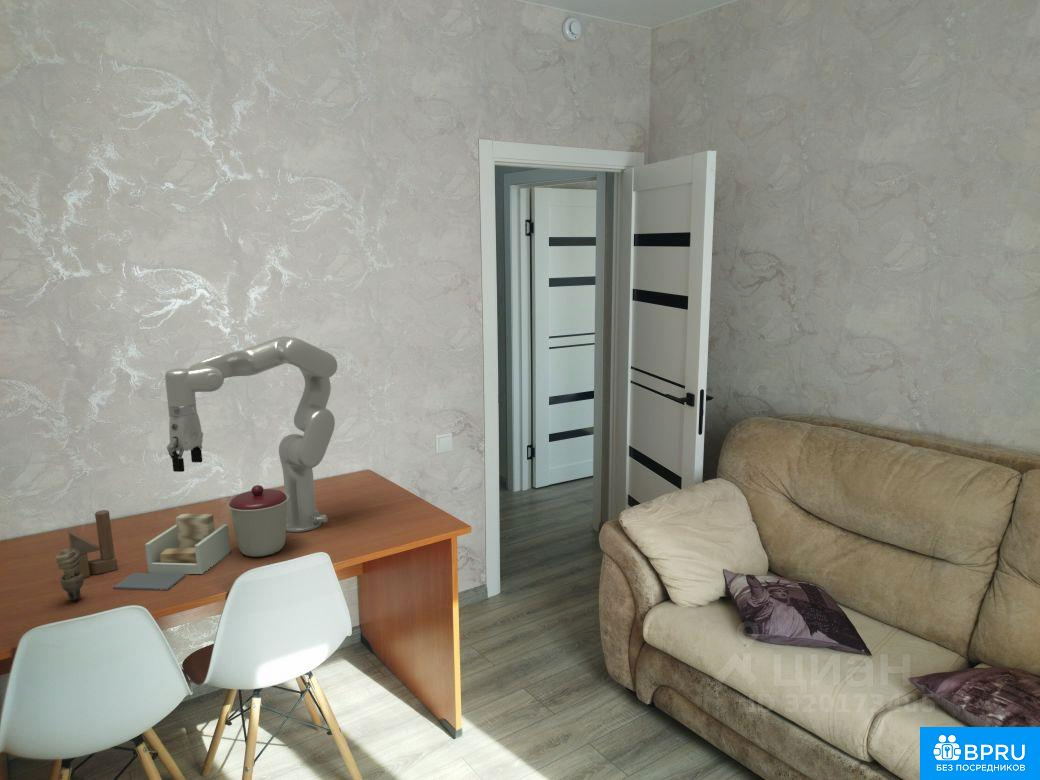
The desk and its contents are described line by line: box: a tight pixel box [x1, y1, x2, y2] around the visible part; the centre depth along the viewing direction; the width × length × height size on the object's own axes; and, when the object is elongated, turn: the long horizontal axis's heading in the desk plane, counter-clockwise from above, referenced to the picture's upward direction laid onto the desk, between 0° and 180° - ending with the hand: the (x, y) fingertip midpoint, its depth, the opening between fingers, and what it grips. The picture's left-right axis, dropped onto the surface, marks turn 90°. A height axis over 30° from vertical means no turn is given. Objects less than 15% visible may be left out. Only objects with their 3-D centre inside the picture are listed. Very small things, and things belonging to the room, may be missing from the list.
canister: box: [226, 484, 289, 558], centre depth 225 cm, size 18×18×21 cm
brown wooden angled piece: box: [67, 509, 119, 579], centre depth 212 cm, size 4×11×18 cm, turn 129°
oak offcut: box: [160, 548, 196, 563], centre depth 215 cm, size 10×4×3 cm, turn 93°
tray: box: [144, 523, 231, 575], centre depth 219 cm, size 16×17×9 cm
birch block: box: [175, 513, 216, 548], centre depth 223 cm, size 10×4×13 cm, turn 84°
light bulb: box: [55, 547, 85, 602], centre depth 195 cm, size 6×6×15 cm
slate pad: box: [112, 572, 187, 591], centre depth 206 cm, size 16×9×1 cm, turn 84°
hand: (188, 466), depth 218 cm, fingers open, 9 cm apart
